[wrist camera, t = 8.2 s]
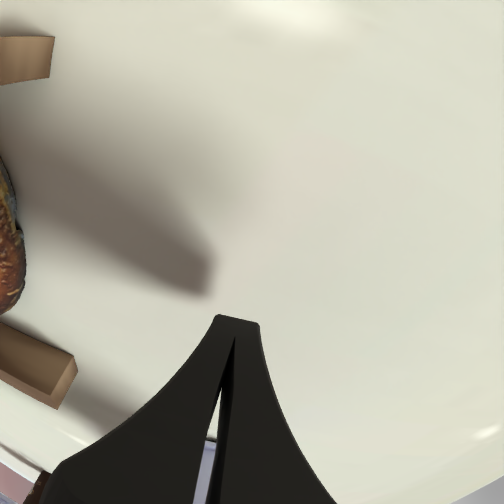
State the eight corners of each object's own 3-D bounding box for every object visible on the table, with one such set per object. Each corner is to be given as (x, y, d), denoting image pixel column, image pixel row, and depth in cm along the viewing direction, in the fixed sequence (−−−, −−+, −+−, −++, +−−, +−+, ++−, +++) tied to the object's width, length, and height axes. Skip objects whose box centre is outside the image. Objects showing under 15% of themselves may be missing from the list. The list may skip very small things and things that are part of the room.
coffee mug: (62, 485, 43) (49, 521, 34) (30, 464, 39) (15, 501, 31) (93, 494, 39) (79, 536, 31) (57, 473, 36) (40, 517, 27)
